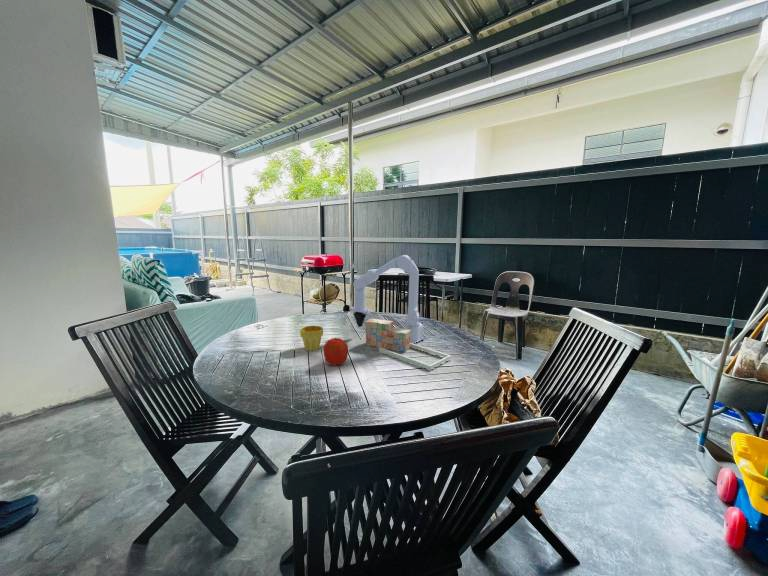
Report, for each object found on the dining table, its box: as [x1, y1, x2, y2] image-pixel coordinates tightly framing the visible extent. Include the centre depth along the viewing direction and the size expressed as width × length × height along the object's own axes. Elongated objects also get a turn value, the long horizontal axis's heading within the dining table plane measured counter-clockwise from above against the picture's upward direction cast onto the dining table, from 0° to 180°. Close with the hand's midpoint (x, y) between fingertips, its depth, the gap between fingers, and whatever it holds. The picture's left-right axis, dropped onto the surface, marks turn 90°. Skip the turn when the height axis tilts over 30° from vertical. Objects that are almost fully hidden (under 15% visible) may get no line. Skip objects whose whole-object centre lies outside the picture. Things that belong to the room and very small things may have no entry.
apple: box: [323, 337, 349, 366], centre depth 129 cm, size 10×10×12 cm
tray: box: [378, 343, 452, 371], centre depth 139 cm, size 16×29×2 cm, turn 47°
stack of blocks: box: [365, 318, 411, 353], centre depth 150 cm, size 21×6×12 cm, turn 63°
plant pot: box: [299, 324, 324, 352], centre depth 146 cm, size 10×10×10 cm
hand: (359, 326), depth 163 cm, fingers closed
